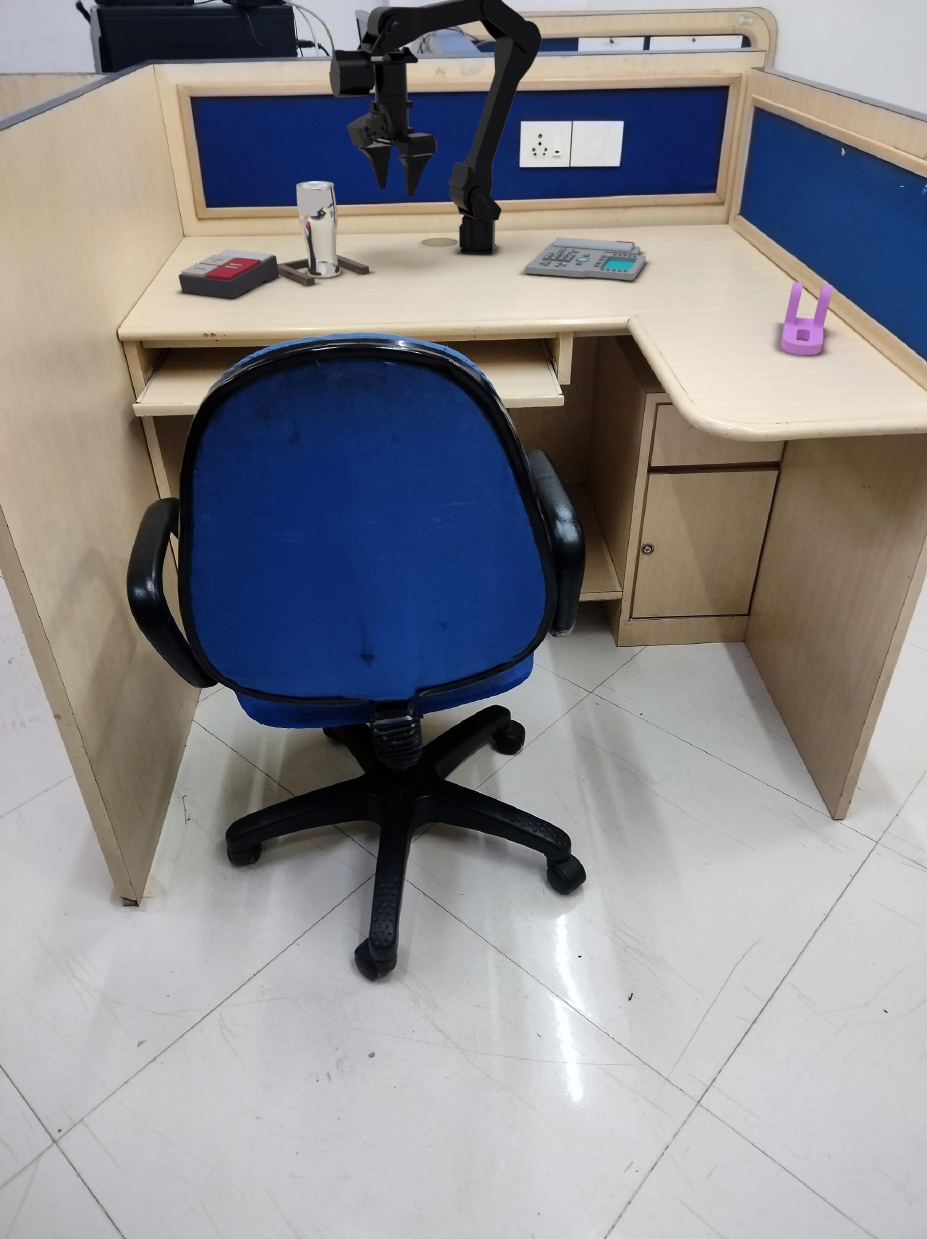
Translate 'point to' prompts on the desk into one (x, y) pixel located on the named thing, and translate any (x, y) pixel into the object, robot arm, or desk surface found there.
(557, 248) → the office telephone
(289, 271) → the frame
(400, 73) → the robot arm
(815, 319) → the bracket
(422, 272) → the desk surface
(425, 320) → the desk surface
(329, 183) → the beer glass
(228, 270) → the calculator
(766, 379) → the desk surface
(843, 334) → the desk surface
